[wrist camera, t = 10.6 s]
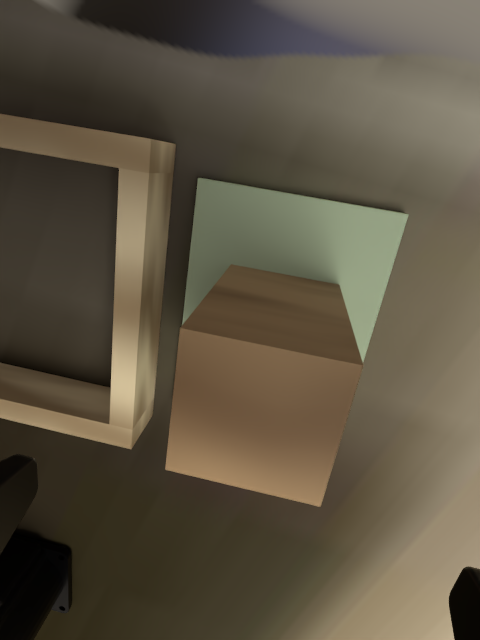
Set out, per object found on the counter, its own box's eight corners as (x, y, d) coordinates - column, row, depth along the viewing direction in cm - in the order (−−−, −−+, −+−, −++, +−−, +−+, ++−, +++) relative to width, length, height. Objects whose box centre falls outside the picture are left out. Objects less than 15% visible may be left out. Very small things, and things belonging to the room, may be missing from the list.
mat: (336, 438, 21) (337, 445, 21) (176, 402, 22) (173, 408, 22) (405, 213, 17) (408, 214, 16) (201, 177, 18) (197, 177, 17)
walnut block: (314, 379, 20) (320, 506, 12) (217, 359, 20) (165, 469, 13) (339, 284, 18) (363, 365, 10) (231, 264, 18) (180, 328, 11)
